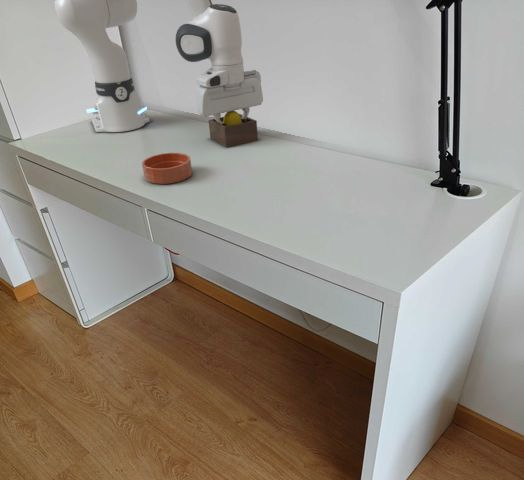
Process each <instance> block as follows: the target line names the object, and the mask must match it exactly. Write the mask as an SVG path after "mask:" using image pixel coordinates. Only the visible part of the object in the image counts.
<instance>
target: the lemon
mask: <svg viewBox="0 0 524 480" xmlns="http://www.w3.org/2000/svg"><path fill="white" fill-rule="evenodd" d="M239 114H240V113H238V111H237V110H234V111H230V112H225V113H224V116H223V117H224V120H223V122H224V123H225V127H227V126H231V125H236V124H240V123H242V121H241V117H240V115H239Z"/></svg>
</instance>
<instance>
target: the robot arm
mask: <svg viewBox="0 0 524 480" xmlns="http://www.w3.org/2000/svg"><path fill="white" fill-rule="evenodd" d="M186 2H187V5H188V8H189V10H190V12H191V16H192V19H190V20H189V21H186V22H184V23H182V24H181V25H180V26H179V27H178V28H177V30H176V33H175V46H176V49H177V51H178V53H179V55H180V56H181V58H182V59H184V60H185V61H186V62H189V63H199V62H202V61H205V60H209V61H210V63H211V67H210V68H209V69H207V70H205V71H204V72H202V73H200V74H198V75H197V76H196V83H197V85H199V86H198V87H197V88H196V93H195V94H196V97H195V98H196V109H197V112H198V114H199V115H200V116H203V117H210V116H213V119H215V120H216V121H217V123H219V124H221V125H223V126H225V123H224V122H221V120H220V119H219V118H220V117H222V115H221V114H226V113H227V112H230V111H238V110H239V111H240V110H241V111H243V112H242V117H241V121H242V123H245V122H247V117H249V114H250V108H252V107H257V106H258V107H259V106H261V105H262V104H263V102H264V96H263V89H262V77H261V74H260V72H259V71H257V70H256V69H251V70H246V71H245V69H244V68H245V67H244V58H243V55H242V46H243V38H242V30H241V29H242V28H241V21H240V17H239V14H238V11H237V10H236V9H235V8H234V7H233V6H231V5H228V4H223V3H215V4H213V2H212V0H186ZM54 12H55V14H56V17H57V19H58V20H59V22H60V24H61V25H62V26H63V28H65V29H66V30H67V31H69V32H70V33H72V35H74V36H75V37H76V38H77V39H78V40H79V41H80V43H81V44H82V46H83V47H84V49H85V51H86V53H87V55H88V56H87V57H88V58H89V61H90V64H91V69H92V73H93V75H94V76H93V77H94V80H95V81H94V89H95V94H96V99H95V102H94V106H91V107H90V108H88V109H86V113H92V115H96V116H95V117H93V118H92V119H91V121H92V125H93V128H94V131H95V132H96V133H106V132H107V133H122V132H128V131H134V130H137V129H140V128H142V127H144V126H145V124H148V123H150V120H151V119H150V117H147V116H146V115H145V111H146V110H148V107H147V106H145V107H143V103H142V99H141V96H140V95H139V94H138V93H136V92H135V84H134V80H133V78H132V77H131V73H130V68H129V61H128V58H127V53H126V51H125V50H124V48H123V47H122V46H121V45H119V44H118V43H116V42H114V41H112V39H110V37H109V35H108V32H107V30H106V29H109V28H115V27H121V26H124V25H126V24H129V22H131V21H133V20H135V18H136V17H137V14H138V1H137V0H54Z"/></svg>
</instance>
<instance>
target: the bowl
mask: <svg viewBox="0 0 524 480" xmlns="http://www.w3.org/2000/svg"><path fill="white" fill-rule="evenodd" d="M141 162H142V163H141V165H142V171H143V176H144V180H146V181H147V182H148V183H151V184H152V183H153V184H159V185H168V184H169V185H170V184H176V183H179V182H181V181H184V180H186V179H188V178H190V177H191V176H192V175H193V169H192V161H191V156H189V155H188V154H186V153H181V152H165V153H159V154H154V155H151V156H149V157H146V158H145V159H144V160H143V161H141Z"/></svg>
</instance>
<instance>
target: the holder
mask: <svg viewBox="0 0 524 480" xmlns="http://www.w3.org/2000/svg"><path fill="white" fill-rule="evenodd" d="M238 114H239V115H240V117H242V115H243V113H238ZM219 119H220V120H221V122H223V120H224V116H221V117H220V118H219ZM208 129H209V138H210V140H212V141H213V142H215V143H217V144H219V145H221V146H223V147H225V148H230V147H235V146H239V145H244V144H247V143H252V142H257V141H258V137H259V136H258V121H257V120H256V119H253V118H251V117H249V116H247V122H245V123H240V124H236V125H231V126H227V127H225V126H223V125H221V124H219V123H217V121H216V120H215V118H211V119H208Z"/></svg>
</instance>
